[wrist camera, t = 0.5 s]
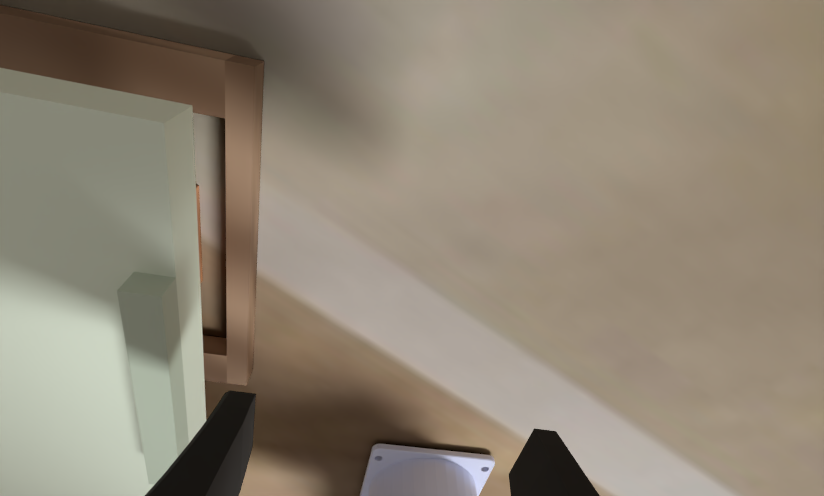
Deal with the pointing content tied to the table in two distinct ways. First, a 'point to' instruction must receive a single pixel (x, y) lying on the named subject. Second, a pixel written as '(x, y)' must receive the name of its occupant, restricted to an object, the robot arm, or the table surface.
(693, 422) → the table surface
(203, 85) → the brown wooden frame
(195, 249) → the cover
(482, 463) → the robot arm
